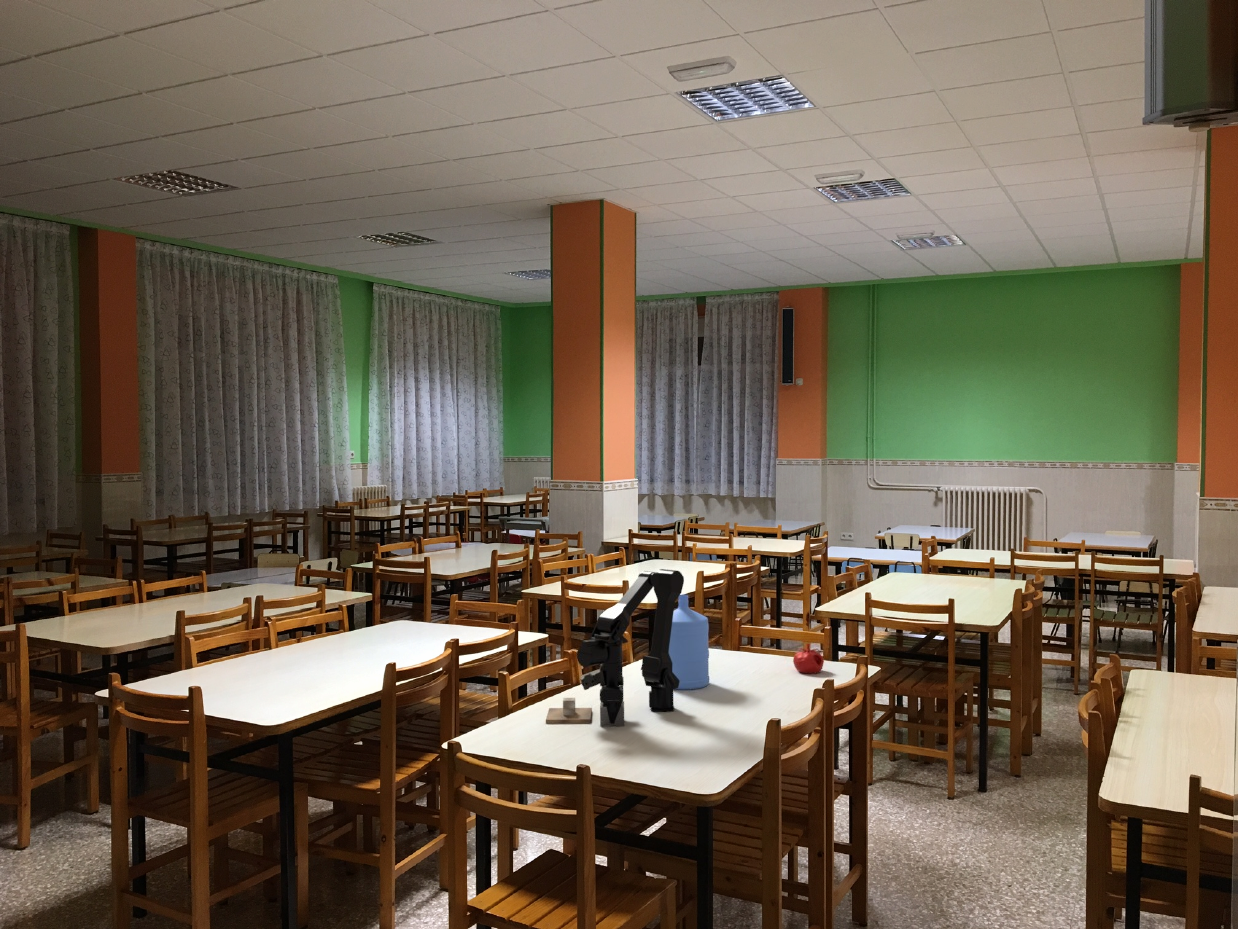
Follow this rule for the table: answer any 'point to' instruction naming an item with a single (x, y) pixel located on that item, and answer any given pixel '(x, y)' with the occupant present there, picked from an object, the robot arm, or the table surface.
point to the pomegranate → (808, 661)
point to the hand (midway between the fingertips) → (612, 718)
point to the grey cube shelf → (605, 718)
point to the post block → (569, 713)
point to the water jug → (689, 647)
